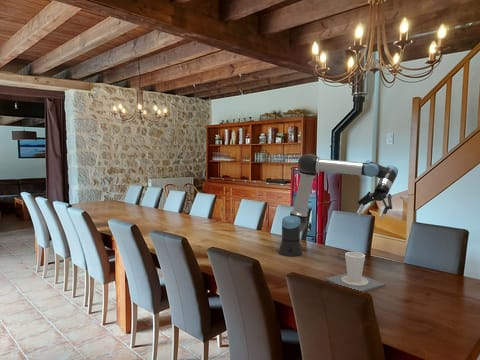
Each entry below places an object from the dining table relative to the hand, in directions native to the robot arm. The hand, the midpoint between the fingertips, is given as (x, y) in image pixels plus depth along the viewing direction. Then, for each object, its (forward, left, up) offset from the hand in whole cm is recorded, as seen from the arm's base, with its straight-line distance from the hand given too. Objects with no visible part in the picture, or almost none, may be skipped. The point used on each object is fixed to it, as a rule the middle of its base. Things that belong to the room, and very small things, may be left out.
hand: (368, 215), depth 197 cm
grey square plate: (+14, -26, -30) cm, 41 cm away
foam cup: (+13, -26, -28) cm, 40 cm away
